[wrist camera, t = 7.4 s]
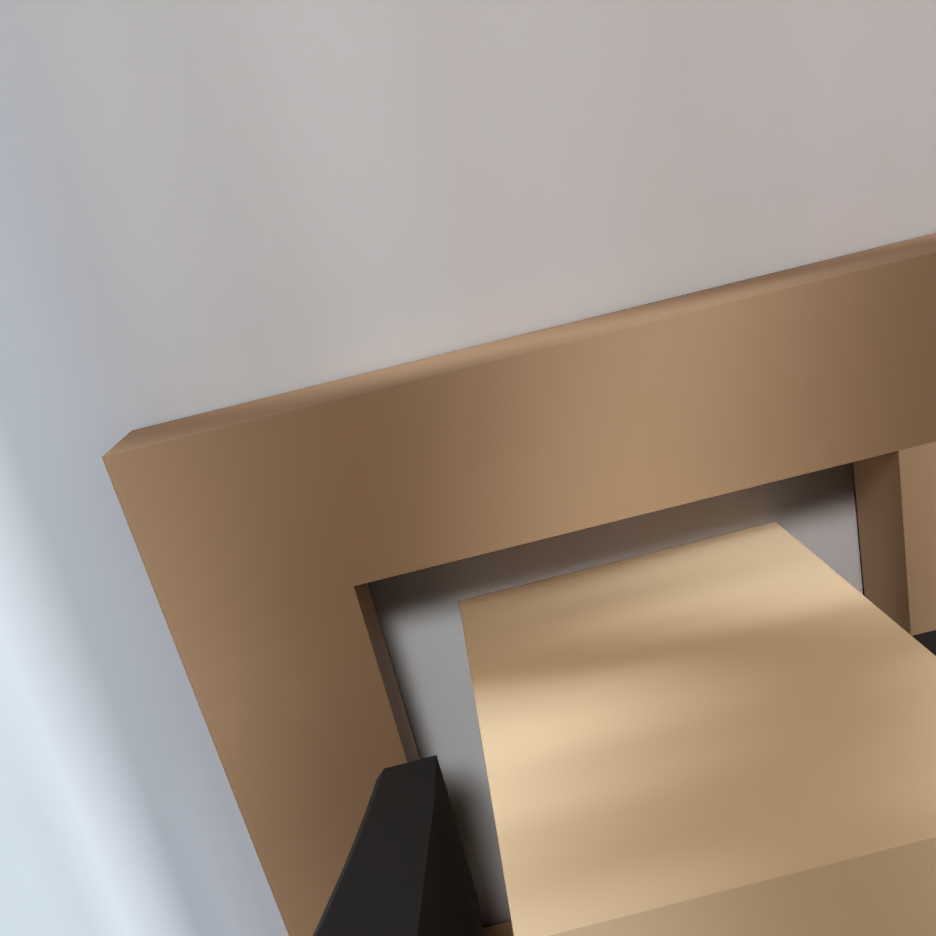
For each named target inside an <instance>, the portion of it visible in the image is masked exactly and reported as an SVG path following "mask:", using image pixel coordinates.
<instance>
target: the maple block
mask: <svg viewBox="0 0 936 936" xmlns="http://www.w3.org/2000/svg"><path fill="white" fill-rule="evenodd" d="M459 605H460V611H461V617H462V623H463V629H464V635H465V641H466V647H467V654H468V660H469V666H470V672H471V678H472V684H473V690H474V696H475V702H476V708H477V714H478V720H479V727H480V733H481V739H482V745H483V751H484V757H485V763H486V769H487V775H488V781H489V787H490V793H491V799H492V806H493V812H494V818H495V824H496V830H497V836H498V842H499V848H500V854H501V860H502V866H503V872H504V878H505V885H506V891H507V897H508V903H509V909H510V915H511V921H512V927H513V933H514V936H936V656H935V655H934V654H933V653H931V652H930V651H929V650H928V649H927V648H925V647H924V646H923V645H922V644H921V643H919V642H918V641H917V640H916V639H915V638H913V637H912V636H911V635H910V634H909V633H908V632H906V631H905V630H904V629H903V628H902V627H900V626H899V625H898V624H897V623H896V622H894V621H893V620H892V619H891V618H890V617H888V616H887V615H886V614H885V613H884V612H883V611H881V610H880V609H879V608H878V607H877V606H875V605H874V604H873V603H872V602H871V601H869V600H868V599H867V598H866V597H865V596H863V595H862V594H861V593H860V592H859V591H857V590H856V589H855V588H854V587H853V586H852V585H850V584H849V583H848V582H847V581H846V580H844V579H843V578H842V577H841V576H840V575H838V574H837V573H836V572H835V571H834V570H832V569H831V568H830V567H829V566H828V565H827V564H825V563H824V562H823V561H822V560H821V559H819V558H818V557H817V556H816V555H815V554H813V553H812V552H811V551H810V550H809V549H807V548H806V547H805V546H804V545H803V544H801V543H800V542H799V541H798V540H797V539H796V538H794V537H793V536H792V535H791V534H790V533H788V532H787V531H786V530H785V529H784V528H782V527H781V526H780V525H779V524H778V523H776V522H772V523H768V524H764V525H760V526H756V527H752V528H748V529H744V530H740V531H736V532H732V533H728V534H724V535H720V536H716V537H712V538H708V539H704V540H700V541H696V542H692V543H688V544H684V545H680V546H676V547H672V548H668V549H664V550H660V551H656V552H652V553H648V554H644V555H640V556H636V557H632V558H629V559H625V560H621V561H617V562H613V563H609V564H605V565H601V566H597V567H593V568H589V569H585V570H581V571H577V572H573V573H569V574H565V575H561V576H557V577H553V578H549V579H545V580H541V581H537V582H533V583H529V584H525V585H521V586H517V587H513V588H509V589H505V590H501V591H497V592H493V593H489V594H485V595H481V596H477V597H473V598H469V599H465V600H461V601H459Z"/></svg>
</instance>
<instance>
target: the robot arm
mask: <svg viewBox="0 0 936 936" xmlns="http://www.w3.org/2000/svg"><path fill="white" fill-rule="evenodd" d="M912 637H913V638H915V639H916V640H917V641H918V642H919V643H921V644H922V645H923V646H924V647H925V648H927V649H928V650H929V651H930V652H931V653H933V654H934V655H935V656H936V630H933V631H929V632H925V633H921V634H917V635H913V636H912ZM313 936H484V935H483V929H482V923H481V917H480V910H479V904H478V898H477V893H476V890H475V886H474V883H473V879H472V876H471V873H470V869H469V866H468V862H467V859H466V855H465V852H464V848H463V845H462V842H461V838H460V835H459V831H458V828H457V824H456V821H455V817H454V814H453V811H452V807H451V804H450V800H449V797H448V793H447V790H446V786H445V783H444V780H443V776H442V773H441V769H440V766H439V762H438V759H437V756H432V757H428V758H424V759H420V760H416V761H412V762H408V763H404V764H400V765H396V766H392V767H388V768H384V769H383V771H382V772H381V774H380V775H379V777H378V778H377V780H376V783H375V786H374V789H373V792H372V795H371V798H370V800H369V803H368V806H367V809H366V811H365V814H364V817H363V819H362V822H361V825H360V827H359V830H358V832H357V835H356V838H355V840H354V843H353V845H352V847H351V850H350V852H349V855H348V857H347V860H346V862H345V865H344V867H343V870H342V872H341V874H340V876H339V879H338V881H337V883H336V885H335V888H334V890H333V892H332V894H331V897H330V899H329V901H328V903H327V906H326V908H325V910H324V912H323V915H322V917H321V919H320V921H319V924H318V926H317V928H316V930H315V932H314V934H313Z"/></svg>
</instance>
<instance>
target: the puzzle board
mask: <svg viewBox="0 0 936 936" xmlns="http://www.w3.org/2000/svg"><path fill="white" fill-rule="evenodd" d="M102 459H103V461H104V464H105V466H106V469H107V471H108V474H109V477H110V479H111V482H112V484H113V487H114V489H115V492H116V494H117V497H118V500H119V502H120V505H121V507H122V510H123V512H124V515H125V517H126V520H127V523H128V525H129V528H130V530H131V533H132V535H133V538H134V540H135V543H136V546H137V548H138V551H139V553H140V556H141V558H142V561H143V563H144V566H145V569H146V571H147V574H148V576H149V579H150V581H151V584H152V586H153V589H154V592H155V594H156V597H157V599H158V602H159V604H160V607H161V609H162V612H163V615H164V617H165V620H166V622H167V625H168V627H169V630H170V632H171V635H172V638H173V640H174V643H175V645H176V648H177V650H178V653H179V655H180V658H181V661H182V663H183V666H184V668H185V671H186V673H187V676H188V678H189V681H190V684H191V686H192V689H193V691H194V694H195V696H196V699H197V701H198V704H199V707H200V709H201V712H202V714H203V717H204V719H205V722H206V724H207V727H208V730H209V732H210V735H211V737H212V740H213V742H214V745H215V747H216V750H217V753H218V755H219V758H220V760H221V763H222V765H223V768H224V770H225V773H226V776H227V778H228V781H229V783H230V786H231V788H232V791H233V793H234V796H235V799H236V801H237V804H238V806H239V809H240V811H241V814H242V816H243V819H244V822H245V824H246V827H247V829H248V832H249V834H250V837H251V839H252V842H253V845H254V847H255V850H256V852H257V855H258V857H259V860H260V862H261V865H262V868H263V870H264V873H265V875H266V878H267V880H268V883H269V885H270V888H271V891H272V893H273V896H274V898H275V901H276V903H277V906H278V908H279V911H280V914H281V916H282V919H283V921H284V924H285V926H286V929H287V931H288V934H289V936H313V934H314V932H315V930H316V928H317V926H318V924H319V921H320V919H321V917H322V915H323V912H324V910H325V908H326V906H327V903H328V901H329V899H330V897H331V894H332V892H333V890H334V888H335V885H336V883H337V881H338V879H339V876H340V874H341V872H342V870H343V867H344V865H345V862H346V860H347V857H348V855H349V852H350V850H351V847H352V845H353V843H354V840H355V838H356V835H357V832H358V830H359V827H360V825H361V822H362V819H363V817H364V814H365V811H366V809H367V806H368V803H369V800H370V798H371V795H372V792H373V789H374V786H375V783H376V780H377V778H378V777H379V775H380V774H381V772H382V771H383V769H384V768H388V767H392V766H396V765H400V764H404V763H408V762H412V761H416V760H420V757H419V753H418V750H417V747H416V743H415V740H414V737H413V733H412V730H411V727H410V723H409V720H408V717H407V713H406V710H405V707H404V703H403V700H402V697H401V693H400V690H399V687H398V683H397V680H396V676H395V673H394V670H393V666H392V663H391V660H390V656H389V653H388V650H387V646H386V643H385V640H384V636H383V633H382V630H381V626H380V623H379V620H378V616H377V613H376V610H375V606H374V603H373V599H372V596H371V593H370V589H369V586H368V583H369V582H373V581H377V580H381V579H385V578H389V577H393V576H397V575H401V574H405V573H409V572H413V571H417V570H421V569H425V568H429V567H433V566H437V565H441V564H445V563H449V562H453V561H457V560H461V559H465V558H470V557H474V556H478V555H482V554H486V553H490V552H494V551H498V550H502V549H506V548H510V547H514V546H518V545H522V544H526V543H530V542H534V541H538V540H542V539H546V538H550V537H554V536H558V535H562V534H566V533H570V532H574V531H578V530H582V529H586V528H590V527H594V526H598V525H602V524H606V523H610V522H614V521H618V520H622V519H626V518H630V517H634V516H638V515H642V514H646V513H650V512H654V511H658V510H662V509H666V508H670V507H674V506H678V505H683V504H687V503H691V502H695V501H699V500H703V499H707V498H711V497H715V496H719V495H723V494H727V493H731V492H735V491H739V490H743V489H747V488H751V487H755V486H759V485H763V484H767V483H771V482H775V481H779V480H783V479H787V478H791V477H795V476H799V475H803V474H807V473H811V472H815V471H819V470H823V469H827V468H831V467H835V466H839V465H843V464H847V463H851V462H853V468H854V479H855V491H856V502H857V514H858V526H859V537H860V549H861V561H862V572H863V584H864V595H865V597H866V598H867V599H868V600H869V601H871V602H872V603H873V604H874V605H875V606H877V607H878V608H879V609H880V610H881V611H883V612H884V613H885V614H886V615H887V616H888V617H890V618H891V619H892V620H893V621H894V622H896V623H897V624H898V625H899V626H900V627H902V628H903V629H904V630H905V631H906V632H908V633H909V634H910V635H911V636H913V635H917V634H921V633H925V632H929V631H933V630H936V233H934V234H930V235H926V236H922V237H918V238H914V239H909V240H905V241H901V242H897V243H893V244H889V245H885V246H881V247H877V248H873V249H869V250H865V251H861V252H857V253H853V254H848V255H844V256H840V257H836V258H832V259H828V260H824V261H820V262H816V263H812V264H808V265H804V266H800V267H796V268H792V269H787V270H783V271H779V272H775V273H771V274H767V275H763V276H759V277H755V278H751V279H747V280H743V281H739V282H735V283H731V284H726V285H722V286H718V287H714V288H710V289H706V290H702V291H698V292H694V293H690V294H686V295H682V296H678V297H674V298H670V299H665V300H661V301H657V302H653V303H649V304H645V305H641V306H637V307H633V308H629V309H625V310H621V311H617V312H613V313H609V314H604V315H600V316H596V317H592V318H588V319H584V320H580V321H576V322H572V323H568V324H564V325H560V326H556V327H552V328H548V329H543V330H539V331H535V332H531V333H527V334H523V335H519V336H515V337H511V338H507V339H503V340H499V341H495V342H491V343H487V344H482V345H478V346H474V347H470V348H466V349H462V350H458V351H454V352H450V353H446V354H442V355H438V356H434V357H430V358H426V359H421V360H417V361H413V362H409V363H405V364H401V365H397V366H393V367H389V368H385V369H381V370H377V371H373V372H369V373H365V374H360V375H356V376H352V377H348V378H344V379H340V380H336V381H332V382H328V383H324V384H320V385H316V386H312V387H308V388H304V389H299V390H295V391H291V392H287V393H283V394H279V395H275V396H271V397H267V398H263V399H259V400H255V401H251V402H247V403H243V404H238V405H234V406H230V407H226V408H222V409H218V410H214V411H210V412H206V413H202V414H198V415H194V416H190V417H186V418H181V419H177V420H173V421H169V422H165V423H161V424H157V425H153V426H149V427H145V428H141V429H137V430H133V431H131V432H130V433H129V434H128V435H126V436H125V437H124V438H123V439H122V440H121V441H120V442H119V443H117V444H116V445H115V446H114V447H113V448H112V449H111V450H109V451H108V452H107V453H106V454H105V455H104V456H103V457H102ZM482 929H483V935H484V936H514V933H513V927H512V921H508V922H504V923H500V924H496V925H492V926H488V927H484V928H482Z"/></svg>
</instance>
